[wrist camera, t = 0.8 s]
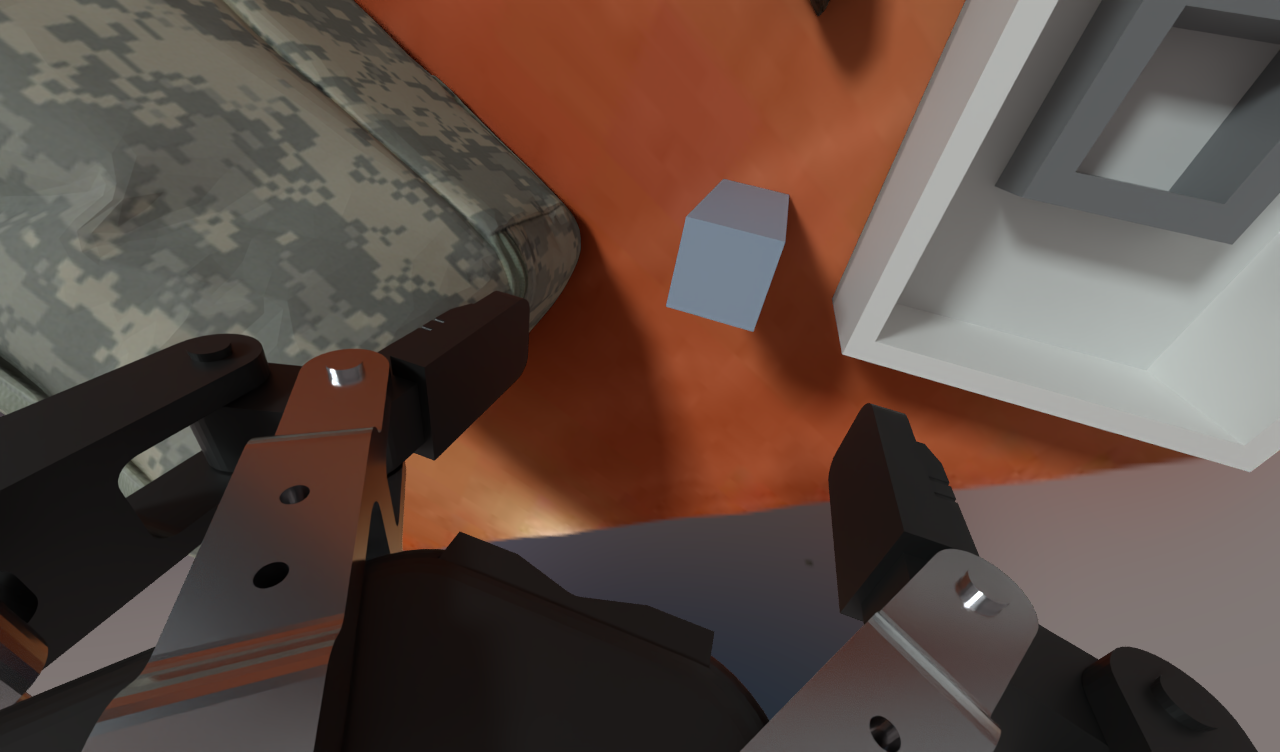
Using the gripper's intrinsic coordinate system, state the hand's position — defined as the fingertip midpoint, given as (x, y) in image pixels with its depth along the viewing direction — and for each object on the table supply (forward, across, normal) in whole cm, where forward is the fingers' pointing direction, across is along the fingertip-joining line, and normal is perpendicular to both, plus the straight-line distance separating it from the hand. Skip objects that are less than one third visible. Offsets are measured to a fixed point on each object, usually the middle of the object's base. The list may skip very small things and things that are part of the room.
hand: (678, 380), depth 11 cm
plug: (+18, 0, 0) cm, 18 cm away
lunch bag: (+18, +23, +4) cm, 29 cm away
